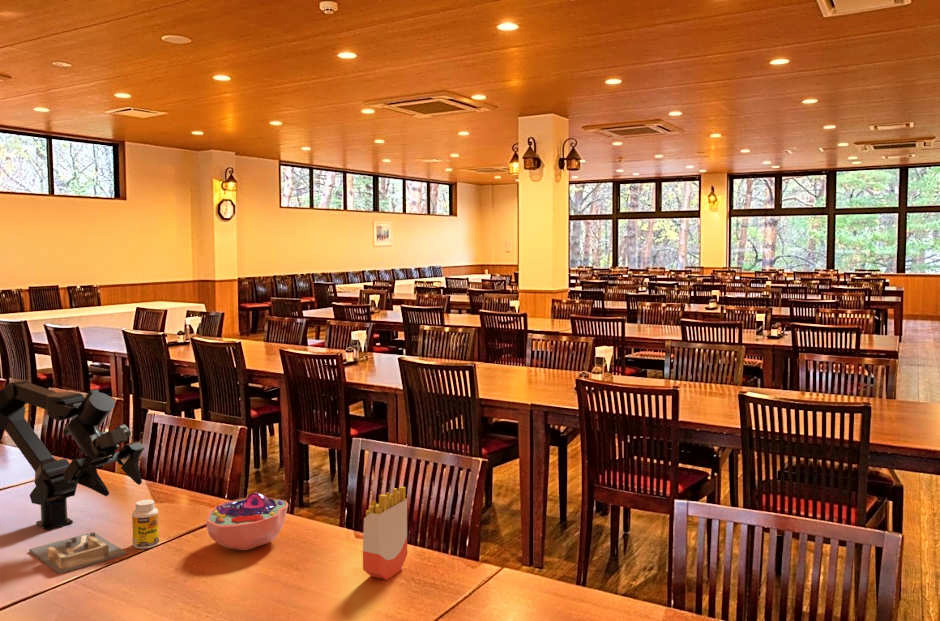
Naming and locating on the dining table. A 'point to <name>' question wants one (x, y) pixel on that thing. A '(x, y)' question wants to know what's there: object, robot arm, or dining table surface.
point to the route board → (74, 550)
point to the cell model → (246, 521)
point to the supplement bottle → (145, 525)
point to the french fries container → (385, 535)
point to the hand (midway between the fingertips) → (124, 489)
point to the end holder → (79, 554)
